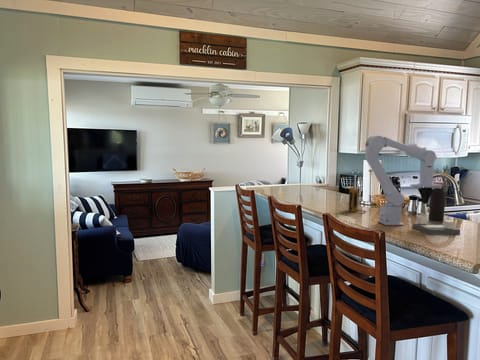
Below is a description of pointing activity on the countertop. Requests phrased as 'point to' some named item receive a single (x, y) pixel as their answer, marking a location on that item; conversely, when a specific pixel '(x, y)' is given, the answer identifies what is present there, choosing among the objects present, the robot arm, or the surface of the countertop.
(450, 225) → the tab front
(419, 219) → the tab back
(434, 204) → the bottle
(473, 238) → the countertop surface
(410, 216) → the countertop surface
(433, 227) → the switch panel
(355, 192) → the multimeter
